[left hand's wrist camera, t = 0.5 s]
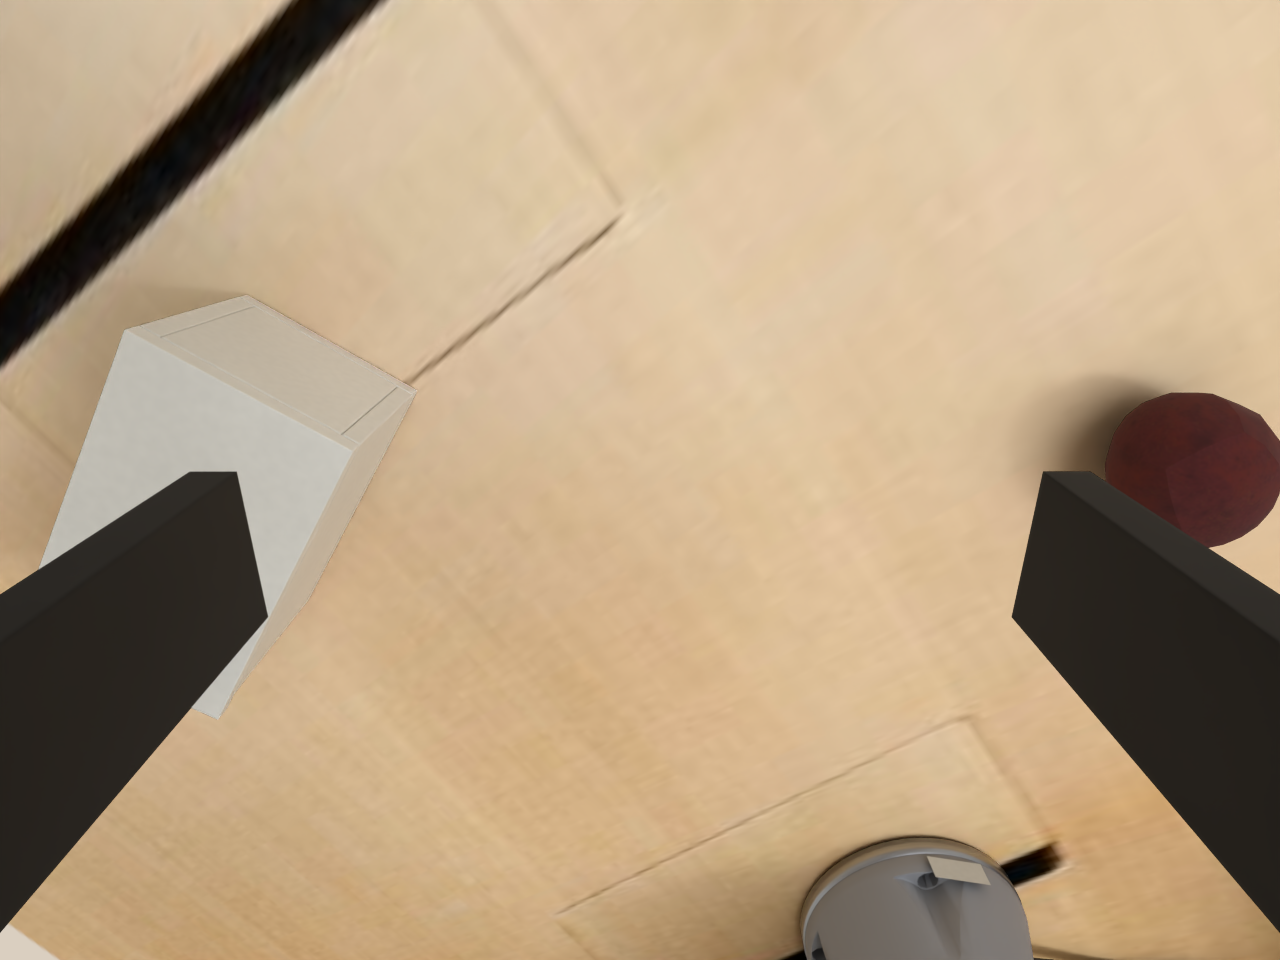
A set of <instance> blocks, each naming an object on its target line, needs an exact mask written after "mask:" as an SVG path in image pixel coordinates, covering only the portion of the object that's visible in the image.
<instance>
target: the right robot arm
mask: <svg viewBox="0 0 1280 960" xmlns="http://www.w3.org/2000/svg"><path fill="white" fill-rule="evenodd" d="M800 930H801V936H802V941H803V945H804V950H805V954H806V957H807V960H1052V959H1040V958H1033V953H1032V946H1031V940H1030V934H1029V928H1028V922H1027V918H1026V915H1025V912H1024V909H1023V906H1022V904H1021V900H1020V898H1019V896H1018V894H1017V892H1016V890H1015V888H1014V887H1013V885H1012V883H1011V881H1010V879H1009V877H1008V876H1007V874H1006V873H1005V871H1004V870H1003V869H1002V868H1001V867H1000V865H999V864H997V863H996V862H995V861H994V860H993V859H992V858H990V857H989V856H987V855H986V854H984V853H983V852H981V851H979V850H977V849H975V848H973V847H970V846H968V845H965V844H962V843H959V842H955V841H950V840H945V839H938V838H907V839H899V840H893V841H888V842H884V843H880V844H877V845H874V846H871V847H868V848H865V849H863V850H860V851H858V852H856V853H854V854H852V855H850V856H848V857H847V858H845V859H843V860H842V861H840V862H839V863H837V864H836V865H834V866H833V867H832V868H831V869H829V870H828V871H827V872H826V873H825V874H824V875H823V876H822V877H821V878H820V879H819V880H818V881H817V882H816V884H815V885H814V886H813V888H812V889H811V891H810V892H809V894H808V896H807V898H806V900H805V902H804V905H803V908H802V912H801V918H800Z"/></svg>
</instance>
